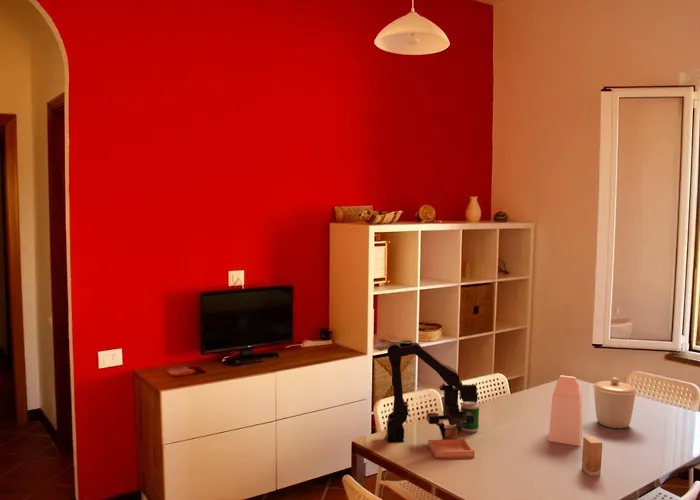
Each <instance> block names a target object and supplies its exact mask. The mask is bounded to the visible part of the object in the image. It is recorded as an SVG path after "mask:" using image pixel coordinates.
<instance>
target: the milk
mask: <svg viewBox="0 0 700 500" xmlns="http://www.w3.org/2000/svg"><path fill="white" fill-rule="evenodd" d="M582 397H583V396H582V390H581V388H580V384H579V382H578V380H577V378H576V377H575V376H569V375H560V376H559V377H558V379H557V381H556V383H555V387H554V389H553V393H552V399H551V409H550V418H549V419H550V420H549V421H550V422H549V430H548V441H549V442H555V443H562V444H565V445H566V444H567V445H574V446H579V447H580V446H581V442H582V439H583V438H582V437H583V422H582V420H583V416H582V414H583V413H582V412H583V411H582V406H583V404H582V403H583V401H582Z"/></svg>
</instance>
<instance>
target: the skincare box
mask: <svg viewBox="0 0 700 500" xmlns="http://www.w3.org/2000/svg"><path fill="white" fill-rule="evenodd" d="M582 437H583V438H582V439H583V440H582V454H581V455H582V456H581V470H582V471H584V472H585V474H587V475H588V476H590V477H594V476H595V477H597V476H598V477H600V476H601V475H602V474H601V473H602V460H603V459H602V456H603V455H602V454H603V442H602V441H601V440H599V438H597V437H596V436H594V435H593V436H592V435H591V436H589V435H588V436H586V435H585V436H582Z"/></svg>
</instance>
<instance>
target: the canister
mask: <svg viewBox="0 0 700 500" xmlns="http://www.w3.org/2000/svg"><path fill="white" fill-rule="evenodd" d="M591 387H592V388H593V394H594V395H593V396H594V404H595V405H594V407H595V408H594V409H595V417H596V420H597V422H598V423H599V424H600V425H602V426H604V427H607V428H610V429H611V428H613V429H625V428H627V427H629V426H630V424H631V421H632V415H633V413H634V411H633V410H634V405H635V399H636V394H637V393H638V390H637V389H636V388H635V387H634V386H633V385H631V384H628V383H627V382H621V381H620V379H619V378H618V377H615V376H614V377H611V378H610V380H602V381H597V382H595V383H593V384H592V386H591Z"/></svg>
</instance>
